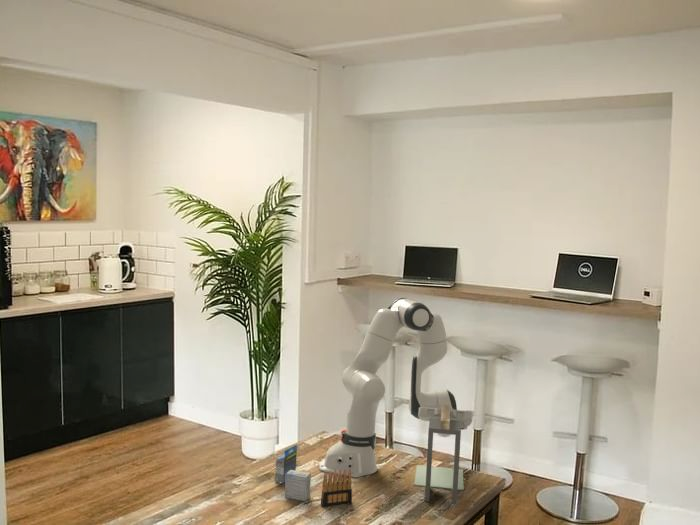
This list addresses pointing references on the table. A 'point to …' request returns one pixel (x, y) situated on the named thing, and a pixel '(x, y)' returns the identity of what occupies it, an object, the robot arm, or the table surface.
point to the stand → (454, 430)
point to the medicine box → (297, 485)
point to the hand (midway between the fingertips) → (445, 410)
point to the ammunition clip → (336, 489)
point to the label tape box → (285, 464)
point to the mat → (438, 477)
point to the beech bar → (445, 417)
